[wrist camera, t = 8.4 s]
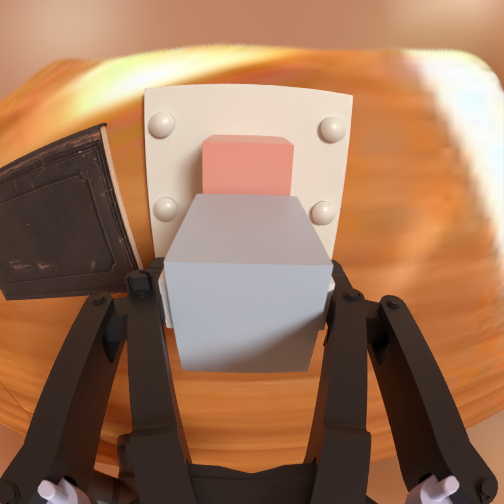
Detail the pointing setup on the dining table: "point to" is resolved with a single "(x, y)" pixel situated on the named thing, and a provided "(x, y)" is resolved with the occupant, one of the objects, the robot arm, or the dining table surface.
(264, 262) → the gray brick
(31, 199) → the hardcover book
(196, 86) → the studded cream panel
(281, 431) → the dining table surface
